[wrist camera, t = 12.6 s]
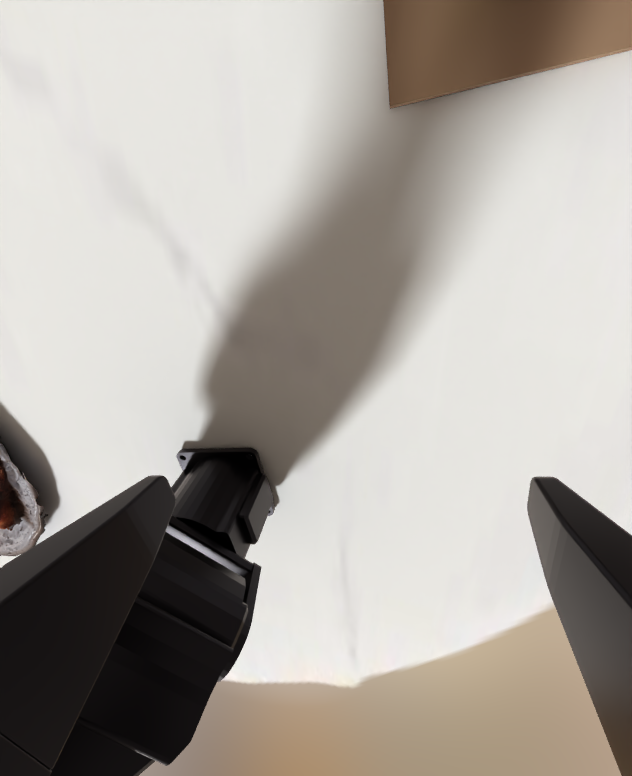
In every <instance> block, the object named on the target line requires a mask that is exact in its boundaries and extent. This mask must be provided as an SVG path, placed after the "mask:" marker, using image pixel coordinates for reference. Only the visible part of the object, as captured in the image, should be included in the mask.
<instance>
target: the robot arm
mask: <svg viewBox="0 0 632 776" xmlns="http://www.w3.org/2000/svg"><path fill="white" fill-rule="evenodd" d="M249 454H250V455H252V456H250V455H249ZM177 459H178V461H179V463H180V466H181V468H182V470H183V472H182V474H181V475H180V476H179V478H178V479H177V481H176V482H175V483H174V485H173V486H172V487H170V485H169V483H168V480H167V479H166V478H165V477H164V476H161V475H152V476H148V477H146V478H144V479H143V480H141V481H140V482H138V483H136V484H135V485H133V486H131V487H130V488H128V489H127V490H125V491H123V492H122V493H120V494H119V495H117V496H115V497H114V498H112V499H110V500H109V501H107V502H106V503H104V504H102V505H101V506H99V507H97V508H96V509H94V510H93V511H91V512H89V513H88V514H86V515H84V516H83V517H81V518H80V519H78V520H76V521H75V522H73V523H72V524H70V525H68V526H67V527H65V528H63V529H62V530H60V531H59V532H57V533H55V534H54V535H52V536H50V537H49V538H47V539H46V540H44V541H42V542H41V543H39V544H37V545H36V546H34V547H33V548H31V549H29V550H28V551H26V552H25V553H23V554H21V555H20V556H18V557H16V558H15V559H13V560H12V561H10V562H8V563H7V564H5V565H4V566H3V567H2V568H0V776H139V775H140V774H141V773H142V772H143V771H144V770H145V769H147V768H148V767H149V766H150V765H151V764H152V763H154V762H155V761H157V762H159V763H161V764H163V765H165V766H167V765H169V764H170V763H172V762H173V760H174V759H175V758H176V757H177V756H178V755H179V754H180V753H181V752H182V751H183V750H184V749H185V747H186V746H187V745H188V744H189V743H190V741H191V740H192V737H193V735H194V733H195V730H196V728H197V725H198V723H199V721H200V718H201V716H202V713H203V711H204V709H205V706H206V704H207V701H208V699H209V697H210V695H211V693H212V691H213V688H214V687H215V685H216V683H217V682H219V681H221V680H222V679H223V678H224V677H225V676H226V675H227V674H228V673H229V671H230V670H231V668H232V667H233V665H234V663H235V662H236V660H237V658H238V656H239V654H240V652H241V650H242V648H243V646H244V644H245V641H246V639H247V636H248V633H249V630H250V626H251V622H252V617H253V611H254V606H255V600H256V594H257V588H258V583H259V577H260V571H261V566H259V565H257V564H256V563H251V562H249V561H248V560H246V559H245V556H246V554H247V551H248V549H249V546H250V544H256V542H257V541H258V539H259V537H260V534H261V531H262V529H263V526H264V523H265V521H266V518H267V516H270V515H272V514H273V513H274V510H275V507H274V504H273V495H272V492H271V489H270V485H269V482H268V479H267V476H266V475H265V473H264V472H263V468H262V465H261V462H260V459H259V455H258V453H257V451H256V450H255V449H252V448H226V449H182V450H180V451H179V452H178V454H177ZM527 509H528V516H529V519H530V523H531V527H532V531H533V534H534V538H535V542H536V546H537V549H538V553H539V557H540V560H541V564H542V568H543V572H544V575H545V579H546V582H547V586H548V589H549V591H550V594H551V597H552V600H553V602H554V605H555V607H556V610H557V612H558V615H559V617H560V620H561V623H562V625H563V627H564V630H565V632H566V635H567V638H568V640H569V643H570V645H571V648H572V651H573V653H574V656H575V658H576V661H577V663H578V666H579V668H580V671H581V673H582V676H583V679H584V681H585V684H586V686H587V689H588V691H589V694H590V696H591V699H592V701H593V704H594V707H595V709H596V712H597V714H598V717H599V719H600V722H601V724H602V727H603V729H604V732H605V734H606V737H607V740H608V742H609V745H610V747H611V750H612V752H613V755H614V757H615V760H616V762H617V765H618V767H619V770H620V772H621V775H622V776H632V535H630V534H629V533H628V532H627V531H625V530H624V529H623V528H621V527H620V526H619V525H617V524H616V523H615V522H613V521H612V520H611V519H609V518H608V517H607V516H605V515H604V514H603V513H602V512H600V511H599V510H598V509H596V508H595V507H594V506H592V505H591V504H590V503H588V502H587V501H586V500H584V499H583V498H582V497H581V496H579V495H578V494H577V493H575V492H574V491H573V490H571V489H570V488H569V487H567V486H566V485H565V484H563V483H562V482H561V481H559V480H558V479H557V478H554V477H534V478H532V480H531V483H530V490H529V497H528V504H527Z"/></svg>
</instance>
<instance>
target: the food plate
mask: <svg viewBox="0 0 632 776" xmlns="http://www.w3.org/2000/svg"><path fill="white" fill-rule="evenodd" d="M23 476H24V473H23V475H21V474H20V472H19V470H18V468H17V467H16V466H15V465H14V464H13V463H12V462H11V460H10V457H9V455H8V454H7V451H6V449H5V448H4V446H3V444H1V443H0V556H1V555H4V556H16V555H19V554H23V553H25V552H26V551H28V550H29V549H31V548H33V547H34V546H35V545H36V542H37V541H38V539H39V537H40V535H42V533H43V532H44V530H45V529H44V526H45V523H44V520H43V519H44V518H45V516H48V514H47V515H46V514H45V516H44V517H43V518H42V519H40V516H41V515H42V513H43V510H44V509H43V508H44V507H43V506H39V505H38V504H37V503H36V498H38V491H37V490H36V489H35V488H34V487H33V485H31V484H30V483H29V482H28V480H27V479H26V477H25V476H24V478H25V480H24V479H23Z"/></svg>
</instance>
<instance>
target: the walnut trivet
mask: <svg viewBox="0 0 632 776" xmlns="http://www.w3.org/2000/svg"><path fill="white" fill-rule="evenodd" d="M383 1H384V18H385V35H386V52H387V69H388V85H389V102H390V109H391V108H395V107H399V106H403V105H407V104H411V103H415V102H420V101H424V100H428V99H432V98H436V97H440V96H444V95H448V94H452V93H457V92H461V91H465V90H469V89H473V88H477V87H481V86H485V85H489V84H494V83H498V82H502V81H506V80H510V79H514V78H518V77H522V76H526V75H531V74H535V73H539V72H543V71H547V70H551V69H555V68H559V67H563V66H568V65H572V64H576V63H580V62H584V61H588V60H592V59H596V58H600V57H605V56H609V55H613V54H617V53H621V52H625V51H629V50H632V0H383Z"/></svg>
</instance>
